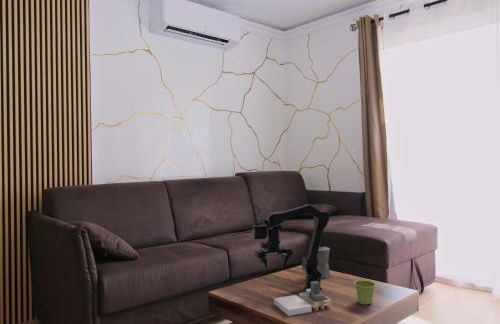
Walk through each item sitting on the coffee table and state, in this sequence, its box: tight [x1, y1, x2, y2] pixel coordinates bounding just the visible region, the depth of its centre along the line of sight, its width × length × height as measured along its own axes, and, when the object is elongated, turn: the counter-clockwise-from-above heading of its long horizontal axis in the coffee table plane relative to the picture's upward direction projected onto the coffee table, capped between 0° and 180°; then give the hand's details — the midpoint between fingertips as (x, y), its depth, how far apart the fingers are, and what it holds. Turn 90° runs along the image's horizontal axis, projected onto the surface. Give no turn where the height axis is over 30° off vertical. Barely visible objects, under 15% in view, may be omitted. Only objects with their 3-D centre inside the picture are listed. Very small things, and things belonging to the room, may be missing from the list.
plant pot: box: [354, 279, 377, 305], centre depth 184 cm, size 9×9×9 cm
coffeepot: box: [317, 242, 331, 279], centre depth 224 cm, size 15×9×18 cm, turn 147°
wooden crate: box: [298, 281, 333, 311], centre depth 183 cm, size 9×13×10 cm
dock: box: [273, 294, 313, 317], centre depth 179 cm, size 11×15×2 cm
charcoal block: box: [313, 292, 326, 302], centre depth 180 cm, size 4×3×3 cm
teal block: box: [305, 288, 311, 298], centre depth 186 cm, size 4×3×3 cm
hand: (274, 269), depth 199 cm, fingers open, 9 cm apart
